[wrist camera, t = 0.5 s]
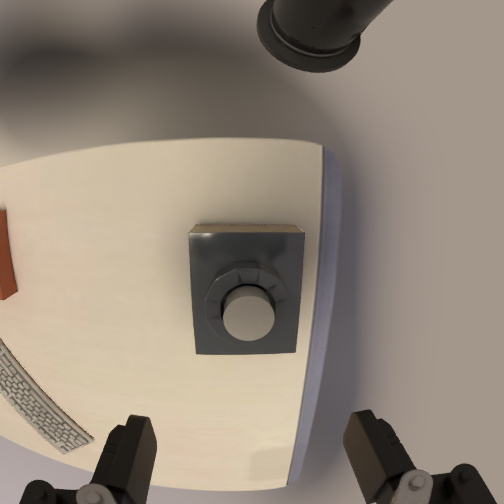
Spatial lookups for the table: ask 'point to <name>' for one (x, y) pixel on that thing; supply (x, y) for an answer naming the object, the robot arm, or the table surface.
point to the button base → (5, 262)
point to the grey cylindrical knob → (248, 313)
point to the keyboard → (38, 406)
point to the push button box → (245, 283)
